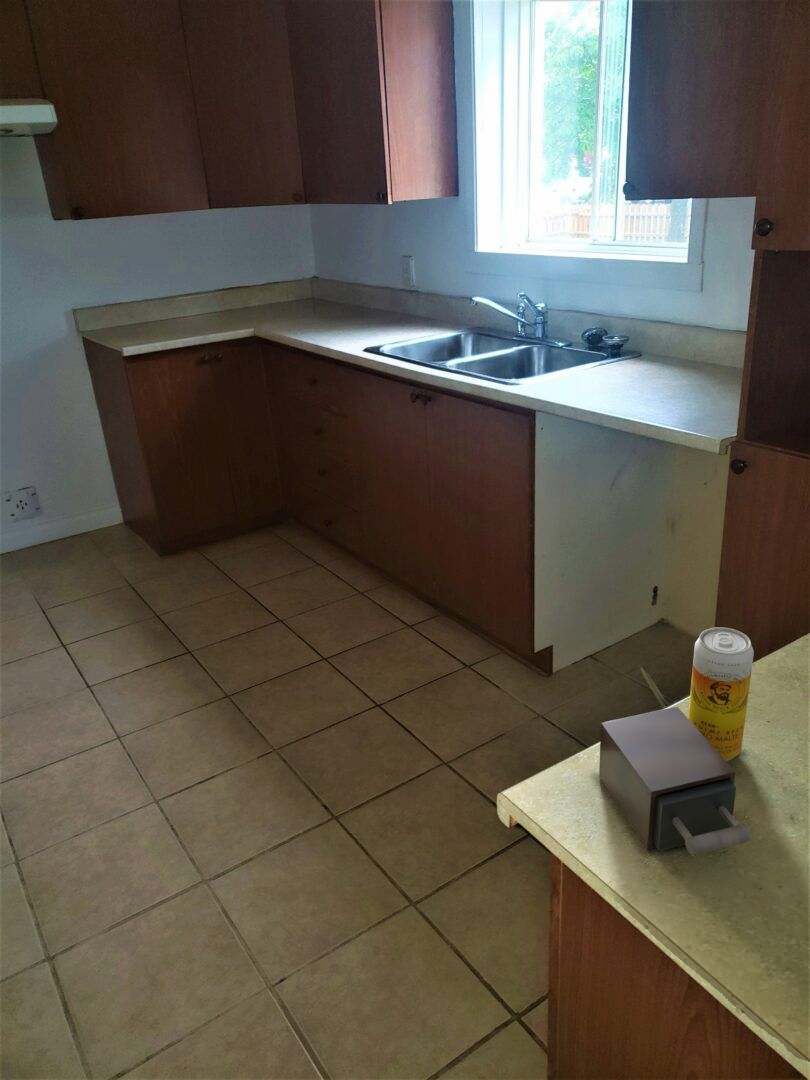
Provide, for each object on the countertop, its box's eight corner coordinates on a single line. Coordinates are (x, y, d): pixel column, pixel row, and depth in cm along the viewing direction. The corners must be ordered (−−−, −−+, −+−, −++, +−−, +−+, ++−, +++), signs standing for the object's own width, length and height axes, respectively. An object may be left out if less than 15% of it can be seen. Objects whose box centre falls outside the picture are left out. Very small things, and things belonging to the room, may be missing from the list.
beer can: (687, 762, 94) (697, 653, 87) (684, 729, 99) (693, 623, 93) (743, 768, 92) (758, 657, 86) (737, 733, 98) (750, 627, 91)
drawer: (756, 865, 79) (763, 818, 77) (681, 885, 78) (685, 837, 75) (677, 767, 92) (681, 724, 89) (612, 782, 91) (614, 739, 88)
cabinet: (728, 829, 84) (735, 771, 81) (647, 850, 83) (651, 792, 80) (672, 760, 94) (677, 706, 91) (598, 777, 93) (600, 722, 89)
